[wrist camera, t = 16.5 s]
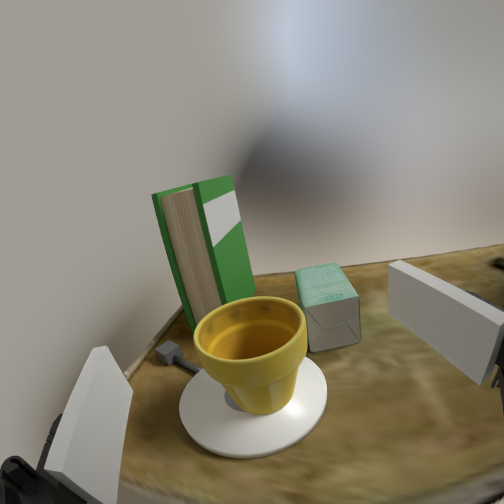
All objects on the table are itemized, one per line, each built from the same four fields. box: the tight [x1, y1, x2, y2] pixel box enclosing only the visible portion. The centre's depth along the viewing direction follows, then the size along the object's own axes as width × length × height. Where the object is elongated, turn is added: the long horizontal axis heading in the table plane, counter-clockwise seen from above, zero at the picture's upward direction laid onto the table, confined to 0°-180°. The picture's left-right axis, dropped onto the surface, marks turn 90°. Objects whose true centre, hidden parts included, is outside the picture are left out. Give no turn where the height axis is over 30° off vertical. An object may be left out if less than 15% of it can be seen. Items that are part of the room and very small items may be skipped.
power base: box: [154, 340, 327, 459], centre depth 31 cm, size 26×17×2 cm, turn 51°
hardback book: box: [151, 175, 255, 335], centre depth 47 cm, size 18×7×24 cm, turn 170°
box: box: [295, 263, 361, 352], centre depth 40 cm, size 7×14×8 cm, turn 177°
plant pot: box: [193, 296, 307, 415], centre depth 26 cm, size 10×10×10 cm
